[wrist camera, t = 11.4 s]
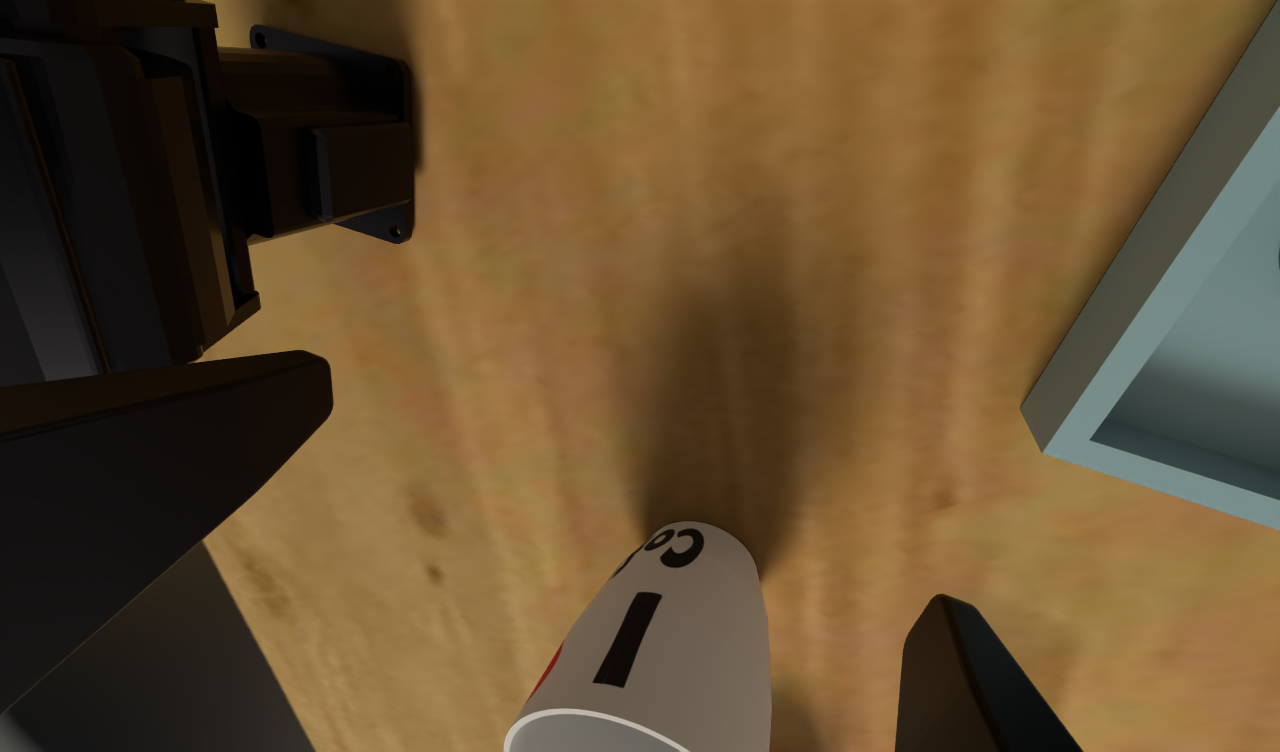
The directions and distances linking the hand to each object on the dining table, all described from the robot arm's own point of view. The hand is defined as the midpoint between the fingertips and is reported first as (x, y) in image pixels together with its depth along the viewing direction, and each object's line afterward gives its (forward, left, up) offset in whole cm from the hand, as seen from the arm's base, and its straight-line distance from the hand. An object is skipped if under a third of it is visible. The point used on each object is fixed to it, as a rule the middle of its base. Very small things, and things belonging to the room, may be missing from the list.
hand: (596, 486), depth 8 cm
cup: (+2, -14, -13) cm, 19 cm away
